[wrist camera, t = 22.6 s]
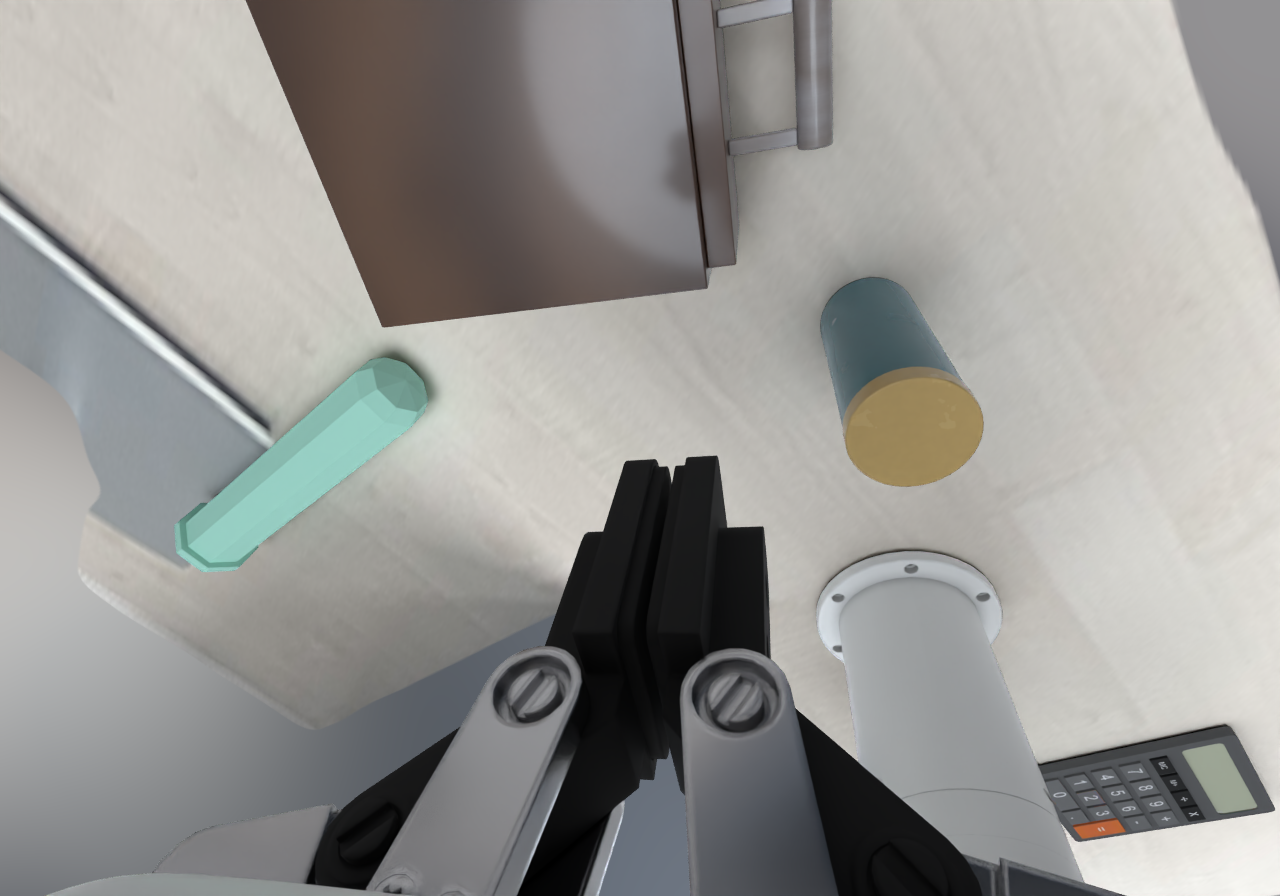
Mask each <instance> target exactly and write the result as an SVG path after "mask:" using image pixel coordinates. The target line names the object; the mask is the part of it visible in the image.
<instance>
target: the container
mask: <svg viewBox="0 0 1280 896" xmlns="http://www.w3.org/2000/svg"><path fill="white" fill-rule="evenodd" d="M427 403H428V398H427V394H426V390H425V386H424V382H423V380H422V379H421V378H420V377H419V376H418V375H417V374H416V373H415V372H414V371H413V370H412V369H411V368H410V367H409V366H408V365H407V364H406V363H404V362H400V361H396V360H393V359H389V358H386V357H383V358H377V359H371V360H370V361H368V362H367V363H366V364H365V365H363V366H362V367H361V368H360V369H359V370H357V371H356V372H355V373H354V374H353V375H352V376H350V377H349V378H348V379H347V380H346V381H345V382H344V383H343V384H341V385H340V386H339V387H338V388H337V389H336V390H335V391H334V392H332V393H331V394H330V395H329V396H328V397H327V398H326V399H325V400H324V401H322V402H321V403H320V404H319V405H318V406H317V407H316V408H315V409H313V410H312V411H311V412H310V413H309V414H308V415H307V416H306V417H304V418H303V419H302V420H301V421H300V422H299V423H298V424H297V425H295V426H294V427H293V428H292V429H291V430H290V431H289V432H288V433H286V434H285V435H284V436H283V437H282V438H281V439H280V440H279V441H277V442H276V443H275V444H274V445H273V446H272V447H271V448H270V449H269V450H267V451H266V452H265V453H264V454H263V455H262V456H261V457H260V458H258V459H257V460H256V461H255V462H254V463H253V464H252V465H251V466H249V467H248V468H247V469H246V470H245V471H244V472H243V473H242V474H240V475H239V476H238V477H237V478H236V479H235V480H234V481H233V482H231V483H230V484H229V485H228V486H227V487H226V488H225V489H224V490H223V491H221V492H220V493H219V494H218V495H217V496H216V497H215V498H214V499H212V500H211V501H210V502H209V503H200V504H199V505H198V506H197V507H195V508H194V509H193V510H192V511H191V512H189V513H188V514H187V515H186V516H185V517H183V518H182V519H181V520H180V521H179V522H178V523H176V524H175V525H174V529H175V542H176V553H177V554H178V555H180V556H181V557H182V558H184V559H185V560H187V561H188V562H189V563H191V564H192V565H193V566H195V567H196V568H197V569H199V570H200V571H202V572H215V571H235V570H236V569H237V568H238V567H240V566H241V565H242V564H243V563H244V562H245V561H246V560H247V559H248V558H249V557H250V555H251V554H252V553H253V552H254V551H255V550H256V549H257V548H258V545H259V544H260V543H261V542H263V541H264V540H265V539H267V538H268V537H269V536H271V535H272V534H273V533H274V532H276V531H277V530H278V529H280V528H281V527H282V526H283V525H285V524H286V523H287V522H289V521H290V520H291V519H293V518H294V517H295V516H296V515H298V514H299V513H300V512H302V511H303V510H304V509H306V508H307V507H308V506H309V505H311V504H312V503H313V502H315V501H316V500H317V499H318V498H320V497H321V496H322V495H324V494H325V493H326V492H328V491H329V490H330V489H331V488H333V487H334V486H335V485H337V484H338V483H339V482H341V481H342V480H343V479H344V478H346V477H347V476H348V475H350V474H351V473H352V472H353V471H355V470H356V469H357V468H359V467H360V466H361V465H363V464H364V463H365V462H366V461H368V460H369V459H370V458H372V457H373V456H374V455H375V454H377V453H378V452H379V451H381V450H382V449H383V448H385V447H386V446H387V445H388V444H390V443H391V442H392V441H394V440H395V439H396V438H398V437H399V436H400V435H401V434H403V433H404V432H405V431H407V430H408V429H409V428H410V427H412V425H413V424H414V423H415V422H416V421H417V420H418V419H419V418H420V416H421V415H422V414H423V413H424V411H425V408H426V406H427Z"/></svg>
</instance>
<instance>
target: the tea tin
mask: <svg viewBox="0 0 1280 896" xmlns="http://www.w3.org/2000/svg"><path fill="white" fill-rule="evenodd" d="M820 329H821V335H822V339H823V344H824V348H825V352H826V357H827V361H828V366H829V370H830V374H831V379H832V383H833V387H834V392H835V396H836V400H837V405H838V409H839V413H840V418H841V422H842V427H843V436H844V441H845V445H846V449H847V453H848V455H849V457H850V459H851V461H852V462H853V464H854V465H855V466H856V467H857V469H858V470H860V471H861V472H862V473H863V474H865V475H866V476H868V477H869V478H871V479H873V480H875V481H877V482H880V483H883V484H887V485H892V486H906V487H909V486H919V485H924V484H928V483H932V482H935V481H937V480H940V479H942V478H944V477H946V476H948V475H950V474H952V473H953V472H955V471H956V470H958V469H959V468H960V467H961V466H963V465H964V464H965V463H966V462H967V461H968V460H969V459H970V457H971V456H972V455H973V454H974V452H975V451H976V449H977V447H978V445H979V443H980V440H981V437H982V433H983V424H984V422H983V415H982V411H981V408H980V406H979V404H978V402H977V401H976V399H975V397H974V396H973V394H972V393H971V391H970V390H969V388H968V387H967V386H966V385H965V384H964V382H963V381H962V379H961V378H960V376H959V374H958V373H957V371H956V369H955V368H954V366H953V365H952V363H951V361H950V360H949V358H948V356H947V355H946V353H945V352H944V350H943V348H942V347H941V345H940V344H939V342H938V340H937V339H936V337H935V335H934V334H933V332H932V331H931V329H930V327H929V326H928V324H927V322H926V321H925V319H924V318H923V316H922V314H921V313H920V311H919V309H918V308H917V306H916V305H915V303H914V301H913V300H912V298H911V297H910V295H909V294H908V292H907V291H906V290H905V289H904V288H903V287H902V286H900V285H899V284H897V283H895V282H893V281H891V280H888V279H883V278H865V279H860V280H857V281H854V282H852V283H850V284H848V285H846V286H844V287H843V288H841V289H840V290H839V291H837V292H836V293H835V294H834V295H833V296H832V298H831V299H830V300H829V301H828V303H827V305H826V306H825V308H824V311H823V313H822V317H821V324H820Z"/></svg>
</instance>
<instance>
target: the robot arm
mask: <svg viewBox="0 0 1280 896" xmlns="http://www.w3.org/2000/svg"><path fill="white" fill-rule="evenodd" d="M1002 613H1003V611H1002V608H1001V604H1000V600H999V598H998V596H997V594H996V592H995V590H994V588H993V586H992V584H991V583H990V582H989V581H988V580H987V578H986V577H985V576H984V575H983V574H982V573H980V572H979V571H978V570H976V569H975V568H974V567H972V566H970V565H968V564H966V563H964V562H962V561H960V560H958V559H955V558H952V557H949V556H946V555H942V554H937V553H930V552H922V551H903V552H895V553H887V554H882V555H879V556H875V557H871V558H868V559H865V560H863V561H861V562H858V563H856V564H853V565H852V566H850V567H849V568H847V569H845V570H844V571H842V572H840V573H839V574H838V575H837V576H836V577H835V578H834V579H832V580H831V581H830V582H829V583H828V585H827V586H826V588H825V589H824V590H823V592H822V593H821V596H820V598H819V601H818V603H817V610H816V619H817V629H818V632H819V635H820V638H821V640H822V642H823V643H824V645H825V646H826V648H827V649H828V650H829V651H830V652H831V653H832V654H833V655H834V656H835V657H836V658H838V659H839V660H841V661H842V662H844V665H845V672H846V679H847V686H848V693H849V700H850V707H851V714H852V720H853V727H854V734H855V741H856V748H857V755H858V762H857V761H856V760H855V759H854V758H853V757H852V756H850V755H849V754H848V753H847V752H846V751H845V750H843V749H842V748H841V747H840V746H839V745H838V744H836V743H835V742H834V741H833V740H832V739H831V738H830V737H828V736H827V735H826V734H825V733H824V732H823V731H821V730H820V729H819V728H818V727H817V726H816V725H814V724H813V723H812V722H811V721H810V720H809V719H807V718H806V717H805V716H804V715H803V714H802V713H800V712H799V711H798V710H797V709H796V708H795V705H794V701H793V697H792V693H791V688H790V685H789V683H788V681H787V678H786V676H785V674H784V672H783V671H782V670H781V669H780V668H779V667H778V666H777V664H776V663H775V662H774V661H772V660H771V655H770V616H769V588H768V571H767V557H766V546H765V535H764V527H733V528H727V521H726V513H725V505H724V498H723V490H722V482H721V474H720V466H719V460H718V457H717V456H702V457H687V458H686V463H685V465H683V466H676V467H675V471H674V476H673V481H672V483H671V477H670V472H669V469H668V467H667V466H665V467H659V465H658V462H657V460H656V459H650V460H633V461H626V462H625V464H624V466H623V470H622V473H621V476H620V479H619V483H618V486H617V489H616V492H615V495H614V499H613V502H612V505H611V508H610V511H609V515H608V518H607V521H606V524H605V527H604V531H603V532H587V533H586V534H585V535H584V537H583V539H582V541H581V544H580V547H579V550H578V553H577V556H576V558H575V561H574V564H573V567H572V570H571V573H570V576H569V578H568V581H567V584H566V587H565V590H564V593H563V596H562V599H561V601H560V604H559V607H558V610H557V613H556V616H555V619H554V621H553V624H552V627H551V630H550V633H549V636H548V639H547V642H546V644H545V646H538V647H534V648H530V649H526V650H523V651H521V652H519V653H517V654H515V655H513V656H511V657H509V658H508V659H507V660H506V661H505V662H503V663H502V664H501V665H500V666H499V667H497V669H496V670H495V671H494V673H493V674H492V675H491V677H490V678H489V679H488V681H487V682H486V684H485V686H484V688H483V689H482V691H481V693H480V694H479V696H478V698H477V700H476V701H475V703H474V705H473V706H472V708H471V710H470V712H469V714H468V715H467V717H466V718H465V720H464V722H463V724H462V725H461V727H459V728H458V729H456V730H455V731H453V732H452V733H451V734H449V735H447V736H446V737H444V738H443V739H441V740H440V741H438V742H437V743H435V744H434V745H432V746H431V747H429V748H428V749H426V750H425V751H423V752H422V753H421V754H419V755H418V756H416V757H415V758H413V759H412V760H410V761H409V762H407V763H406V764H404V765H403V766H401V767H400V768H398V769H397V770H395V771H394V772H392V773H391V774H389V775H388V776H386V777H385V778H384V779H382V780H381V781H379V782H378V783H376V784H375V785H373V786H372V787H370V788H369V789H367V790H366V791H364V792H363V793H361V794H360V795H359V796H357V797H356V798H355V799H354V800H353V801H351V802H350V803H349V804H348V805H346V806H345V807H344V808H343V809H341V810H337V808H336V807H335V806H334V805H333V804H329V805H323V806H318V807H312V808H308V809H302V810H297V811H291V812H286V813H280V814H275V815H269V816H264V817H259V818H253V819H248V820H242V821H237V822H232V823H227V824H221V825H215V826H211V827H209V828H206V829H203V830H200V831H198V832H195V833H194V834H192V835H191V836H189V837H188V838H186V839H185V840H183V841H182V842H180V843H179V844H177V845H176V846H175V847H174V848H173V849H172V850H171V851H170V852H169V853H168V854H167V855H166V856H165V857H164V858H163V859H162V860H161V861H160V862H159V864H158V865H157V867H156V868H155V870H154V871H153V872H152V873H149V874H138V875H126V876H117V877H112V878H106V879H101V880H96V881H91V882H88V883H84V884H80V885H77V886H73V887H70V888H67V889H63V890H61V891H57V892H55V893H52V894H49V895H46V896H598V895H599V891H600V888H601V885H602V882H603V879H604V875H605V872H606V869H607V866H608V863H609V859H610V856H611V853H612V850H613V847H614V843H615V840H616V837H617V834H618V831H619V828H620V824H621V821H622V817H623V811H624V805H625V804H624V800H625V799H626V798H627V797H628V796H629V795H631V794H632V793H633V792H634V791H636V790H637V789H638V788H639V783H640V779H644V780H654V776H655V769H656V762H657V759H667V757H668V754H669V748H670V751H671V755H672V758H673V763H674V766H675V770H676V774H677V778H678V782H679V786H680V790H681V792H682V793H683V794H684V795H685V804H686V822H687V841H688V860H689V879H690V896H1125V895H1122V894H1119V893H1115V892H1112V891H1109V890H1105V889H1102V888H1099V887H1096V886H1092V885H1089V884H1086V883H1085V882H1084V880H1083V878H1082V875H1081V873H1080V870H1079V868H1078V865H1077V863H1076V860H1075V858H1074V855H1073V853H1072V850H1071V848H1070V845H1069V842H1068V840H1067V837H1066V835H1065V832H1064V830H1063V828H1062V826H1061V823H1060V821H1059V818H1058V815H1057V813H1056V810H1055V807H1054V805H1053V802H1052V799H1051V797H1050V794H1049V792H1048V789H1047V787H1046V784H1045V782H1044V779H1043V777H1042V774H1041V772H1040V769H1039V767H1038V764H1037V761H1036V759H1035V756H1034V754H1033V751H1032V749H1031V746H1030V744H1029V741H1028V739H1027V736H1026V734H1025V731H1024V729H1023V726H1022V724H1021V721H1020V718H1019V716H1018V713H1017V711H1016V708H1015V706H1014V703H1013V701H1012V698H1011V696H1010V693H1009V691H1008V688H1007V686H1006V683H1005V681H1004V678H1003V675H1002V673H1001V670H1000V668H999V665H998V663H997V660H996V658H995V655H994V653H993V650H992V648H991V645H992V643H993V642H994V640H995V639H996V637H997V636H998V634H999V631H1000V628H1001V625H1002Z"/></svg>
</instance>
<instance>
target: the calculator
mask: <svg viewBox="0 0 1280 896" xmlns="http://www.w3.org/2000/svg"><path fill="white" fill-rule="evenodd" d="M1038 767H1039V769H1040V772H1041V774H1042V777H1043V779H1044V782H1045V784H1046V787H1047V789H1048V792H1049V794H1050V797H1051V799H1052V802H1053V805H1054V807H1055V810H1056V813H1057V815H1058V818H1059V821H1060V822H1061V823H1062V824H1063V826H1064V827H1065V828H1066V830H1067V831H1068V832H1069V833H1070V835H1071V836H1072V837H1073V838H1074V840H1075V841H1078V842H1082V841H1088V840H1095V839H1101V838H1108V837H1114V836H1120V835H1127V834H1133V833H1140V832H1146V831H1152V830H1159V829H1165V828H1172V827H1178V826H1184V825H1191V824H1197V823H1204V822H1210V821H1216V820H1223V819H1229V818H1236V817H1242V816H1248V815H1255V814H1261V813H1268V812H1272V811H1274V810H1275V807H1274V805H1273V804H1272V802H1271V800H1270V798H1269V796H1268V794H1267V792H1266V790H1265V788H1264V787H1263V785H1262V783H1261V781H1260V779H1259V777H1258V775H1257V773H1256V771H1255V770H1254V768H1253V766H1252V764H1251V762H1250V760H1249V758H1248V756H1247V754H1246V753H1245V751H1244V749H1243V747H1242V745H1241V743H1240V741H1239V739H1238V737H1237V736H1236V735H1235V733H1234V732H1233V730H1232V729H1231V728H1230V727H1228V726H1225V727H1219V728H1214V729H1209V730H1205V731H1200V732H1195V733H1191V734H1186V735H1181V736H1177V737H1172V738H1167V739H1163V740H1158V741H1153V742H1149V743H1144V744H1139V745H1134V746H1130V747H1125V748H1120V749H1116V750H1111V751H1106V752H1102V753H1097V754H1092V755H1088V756H1083V757H1078V758H1074V759H1069V760H1064V761H1059V762H1055V763H1050V764H1045V765H1041V766H1038Z"/></svg>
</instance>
